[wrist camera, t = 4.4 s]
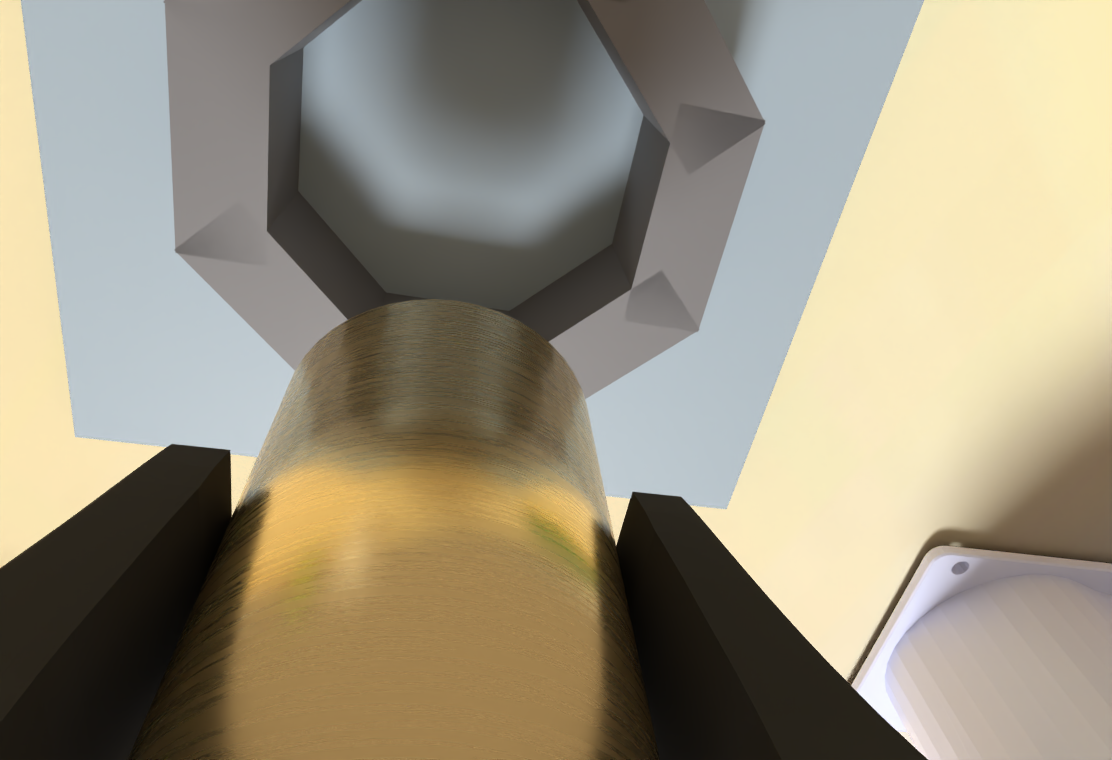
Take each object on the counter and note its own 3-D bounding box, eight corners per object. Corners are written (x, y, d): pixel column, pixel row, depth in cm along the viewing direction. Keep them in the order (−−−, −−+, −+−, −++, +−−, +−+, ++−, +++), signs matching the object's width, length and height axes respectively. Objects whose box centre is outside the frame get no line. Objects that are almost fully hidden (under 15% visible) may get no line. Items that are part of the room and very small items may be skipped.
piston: (618, 322, 10) (791, 851, 5) (558, 559, 13) (623, 1121, 7) (282, 277, 10) (-39, 833, 4) (282, 536, 12) (78, 1145, 6)
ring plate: (983, -229, 13) (1127, -280, 10) (716, 485, 21) (755, 576, 18) (-7, -526, 11) (-199, -713, 8) (94, 413, 18) (17, 505, 15)
